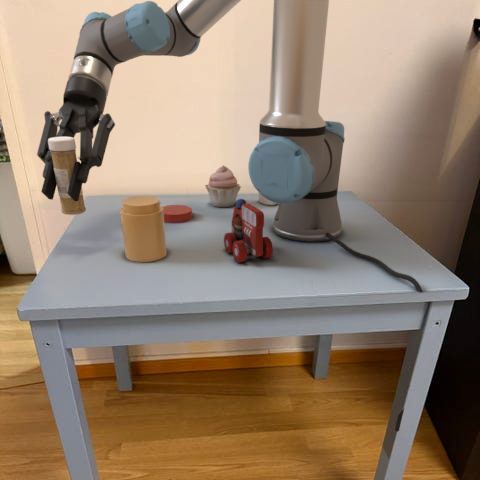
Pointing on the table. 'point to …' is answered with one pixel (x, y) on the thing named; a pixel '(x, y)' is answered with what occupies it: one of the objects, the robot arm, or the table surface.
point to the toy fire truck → (247, 233)
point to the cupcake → (222, 188)
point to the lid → (177, 213)
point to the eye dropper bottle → (265, 200)
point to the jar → (143, 229)
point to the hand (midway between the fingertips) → (59, 196)
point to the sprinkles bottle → (65, 172)
